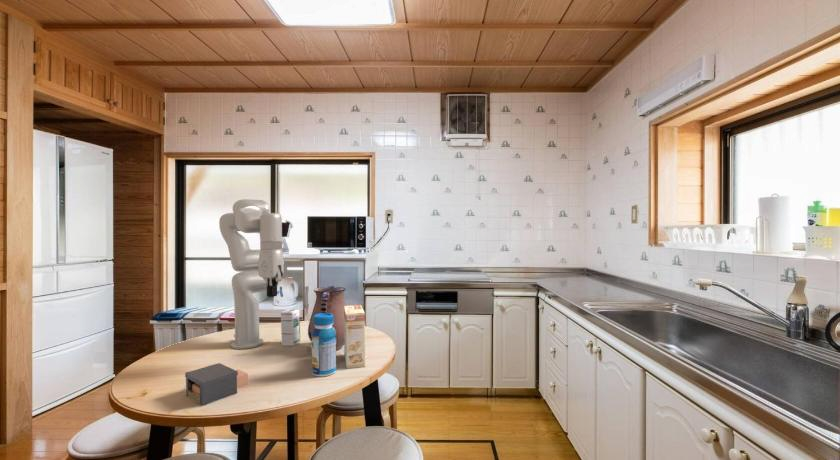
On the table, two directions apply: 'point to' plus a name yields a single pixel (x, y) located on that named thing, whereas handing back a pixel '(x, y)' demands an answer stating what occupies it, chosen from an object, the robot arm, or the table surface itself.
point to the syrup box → (290, 327)
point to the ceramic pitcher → (330, 310)
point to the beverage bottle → (323, 345)
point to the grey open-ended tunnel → (211, 383)
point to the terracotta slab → (241, 381)
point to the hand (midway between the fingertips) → (272, 296)
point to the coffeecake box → (354, 336)
